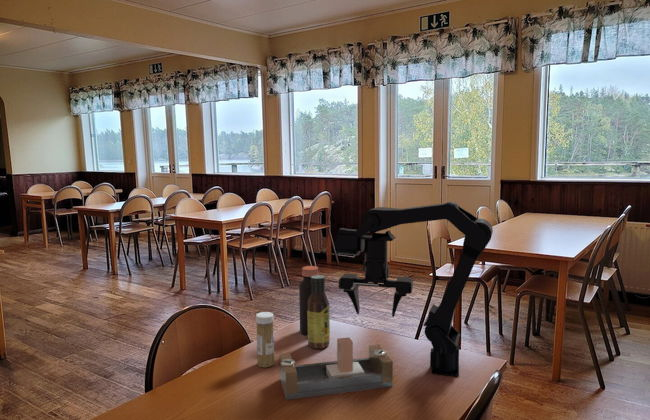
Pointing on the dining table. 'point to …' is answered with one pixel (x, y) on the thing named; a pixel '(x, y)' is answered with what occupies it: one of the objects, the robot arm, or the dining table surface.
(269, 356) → the sprinkles bottle
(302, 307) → the vinegar
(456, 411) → the dining table surface
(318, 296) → the sauce bottle
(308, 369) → the rail
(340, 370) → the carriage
